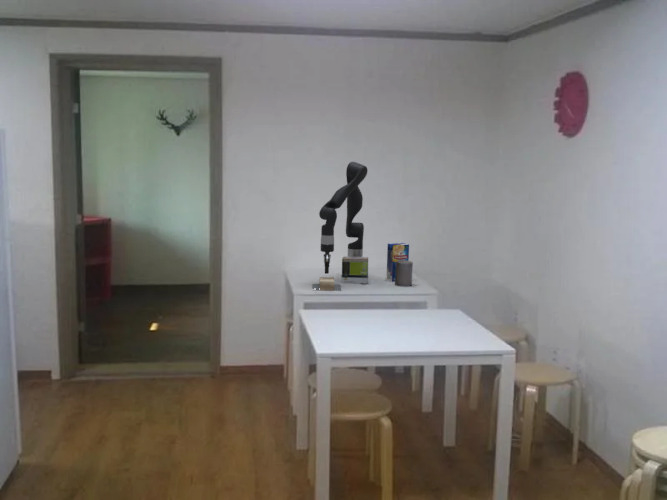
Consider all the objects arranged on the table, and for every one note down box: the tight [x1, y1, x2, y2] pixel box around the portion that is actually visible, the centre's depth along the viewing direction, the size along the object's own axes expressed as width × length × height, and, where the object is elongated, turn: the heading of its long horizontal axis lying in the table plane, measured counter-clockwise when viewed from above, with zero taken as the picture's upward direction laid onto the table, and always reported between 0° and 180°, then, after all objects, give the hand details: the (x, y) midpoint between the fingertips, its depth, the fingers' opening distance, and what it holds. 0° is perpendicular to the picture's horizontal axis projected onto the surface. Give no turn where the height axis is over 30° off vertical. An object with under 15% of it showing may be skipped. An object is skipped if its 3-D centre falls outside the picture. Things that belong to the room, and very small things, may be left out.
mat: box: [311, 283, 342, 292], centre depth 405 cm, size 20×16×1 cm
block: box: [318, 276, 336, 292], centre depth 402 cm, size 5×8×13 cm
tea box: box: [341, 256, 369, 285], centre depth 424 cm, size 15×10×15 cm
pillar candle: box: [394, 259, 414, 287], centre depth 419 cm, size 10×10×15 cm
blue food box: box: [385, 242, 410, 283], centre depth 433 cm, size 7×11×22 cm, turn 116°
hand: (326, 273), depth 409 cm, fingers closed
